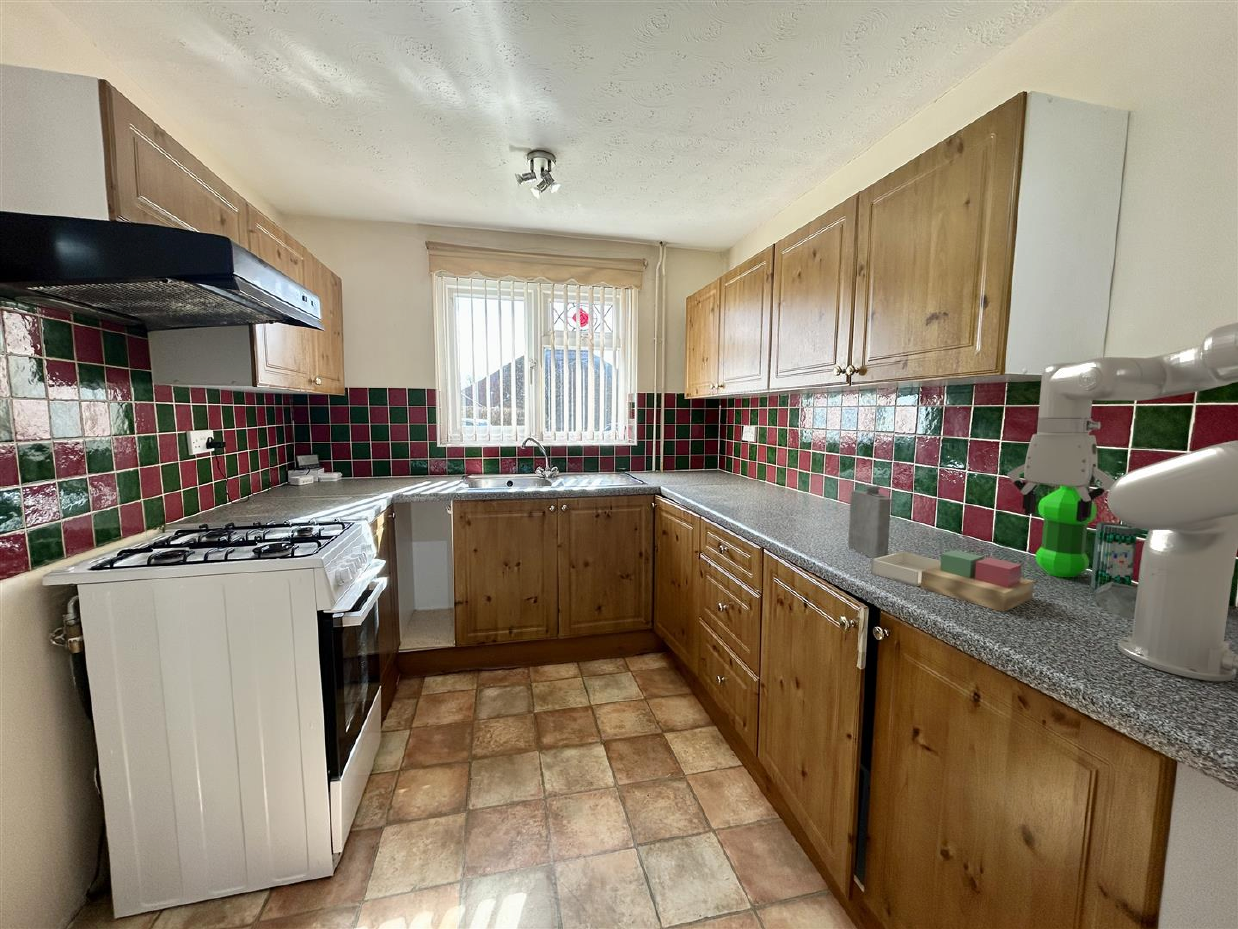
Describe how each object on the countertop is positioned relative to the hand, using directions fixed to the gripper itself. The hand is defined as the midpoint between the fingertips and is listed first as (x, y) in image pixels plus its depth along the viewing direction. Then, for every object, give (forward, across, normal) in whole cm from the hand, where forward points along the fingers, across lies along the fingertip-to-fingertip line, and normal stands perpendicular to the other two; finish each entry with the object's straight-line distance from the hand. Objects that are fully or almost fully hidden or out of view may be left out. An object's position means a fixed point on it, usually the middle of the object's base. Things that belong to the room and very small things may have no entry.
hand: (1054, 516), depth 96 cm
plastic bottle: (+20, +8, -33) cm, 39 cm away
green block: (+16, +16, 0) cm, 22 cm away
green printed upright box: (+20, -2, -29) cm, 35 cm away
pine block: (+20, +13, 0) cm, 23 cm away
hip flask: (+20, +43, -8) cm, 48 cm away
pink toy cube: (+16, +9, 0) cm, 18 cm away
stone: (+20, -9, -16) cm, 27 cm away
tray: (+20, +27, 0) cm, 34 cm away
